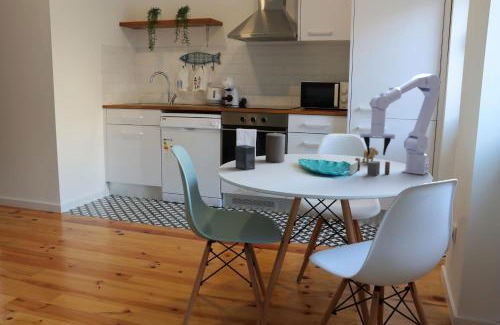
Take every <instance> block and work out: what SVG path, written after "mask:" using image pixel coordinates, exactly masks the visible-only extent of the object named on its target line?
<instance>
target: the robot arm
mask: <svg viewBox="0 0 500 325" xmlns="http://www.w3.org/2000/svg"><path fill="white" fill-rule="evenodd" d="M441 83H442V81H441V78H440V77H439V75H438V74H437V73H419V74H417V75H415V76H412V77H411V79H409V80H407V81H406V82H404V83H403V84H401V85H400V86H397V87H396V86H390V87H388V89H387V90H385V91H383V92H380V93H379V95H373V96H372V97H371V99H370V101H369V106H370V108H371V120H370V123H371V124H370V132H360V134H359V139H363V140H364V143H365V147H366V149H367V151H368V155H369V149H370V144H371V143H370V142H371V140H370V139H383V149H382V156H386V153H387V149H388V146H389V145H390V143H391V140H395V139H396V138H395V137H396V134H394V133H385V126H386V112H387V111H386V109H388V107H389V106H390V105H391V104H392V103H394V102H396V101H398V100H400V99H402V95H403V94H405V93H408V92H409V91H411V90H413V89H415V88H417V89H418V90H419V91H420V92H421V93H422V94H423V96H424V100H423V102H422V105H421V108H420V110H419V113H418V116H417V119H416V122H415V124H414V128H413V130H411V131H410V132H409V133H408V134H407V137H406V138H405V140H404V142H403V147H404V148H405V151H406V156H405V169H403V170H401V172H402V173H408V174H415V175H423V176H424V175H426V174H427V173H429V163H430V155H429V154H427V153H425V152H426V151H427V149H428V146H429V143H428V142H429V136H428V135H427V132H428V129H429V125H430V123H431V120H432V117H433V114H434V112H435V109H436V106H437V103H438V100H439V98H440V97H439V96H440V86H441Z"/></svg>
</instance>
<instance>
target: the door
mask: <svg viewBox="0 0 500 325" xmlns="http://www.w3.org/2000/svg"><path fill="white" fill-rule="evenodd" d="M357 168H358V161H355V160H354V161H353V162H352V163H350V164H349V166H348V167H347V169H348V170H349V175H353V174H354V173H356V172H357Z"/></svg>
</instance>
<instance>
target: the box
mask: <svg viewBox="0 0 500 325" xmlns="http://www.w3.org/2000/svg"><path fill="white" fill-rule="evenodd" d="M235 169H240V170H244V171H250V170H255V169H256V146H252V145H247V144H241V145H235Z"/></svg>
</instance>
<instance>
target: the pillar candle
mask: <svg viewBox="0 0 500 325" xmlns="http://www.w3.org/2000/svg"><path fill="white" fill-rule="evenodd" d="M285 154H286V134H284V133H277V132H276V131H274V133H273V132H272V133H271V132H270V133H269V132H268V133H266V134H265V162H266V163H271V164H282V163H284V162H285Z"/></svg>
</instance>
